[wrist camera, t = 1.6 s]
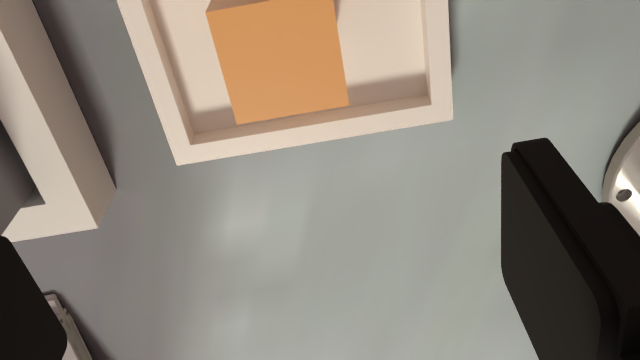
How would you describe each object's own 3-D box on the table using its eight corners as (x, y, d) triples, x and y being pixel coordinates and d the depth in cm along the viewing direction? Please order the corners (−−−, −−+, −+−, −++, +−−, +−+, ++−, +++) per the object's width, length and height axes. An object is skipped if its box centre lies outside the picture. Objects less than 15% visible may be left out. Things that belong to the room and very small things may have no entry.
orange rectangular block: (321, -60, 24) (331, -11, 17) (335, 31, 26) (349, 105, 19) (230, -42, 24) (205, 12, 18) (252, 46, 26) (236, 124, 20)
